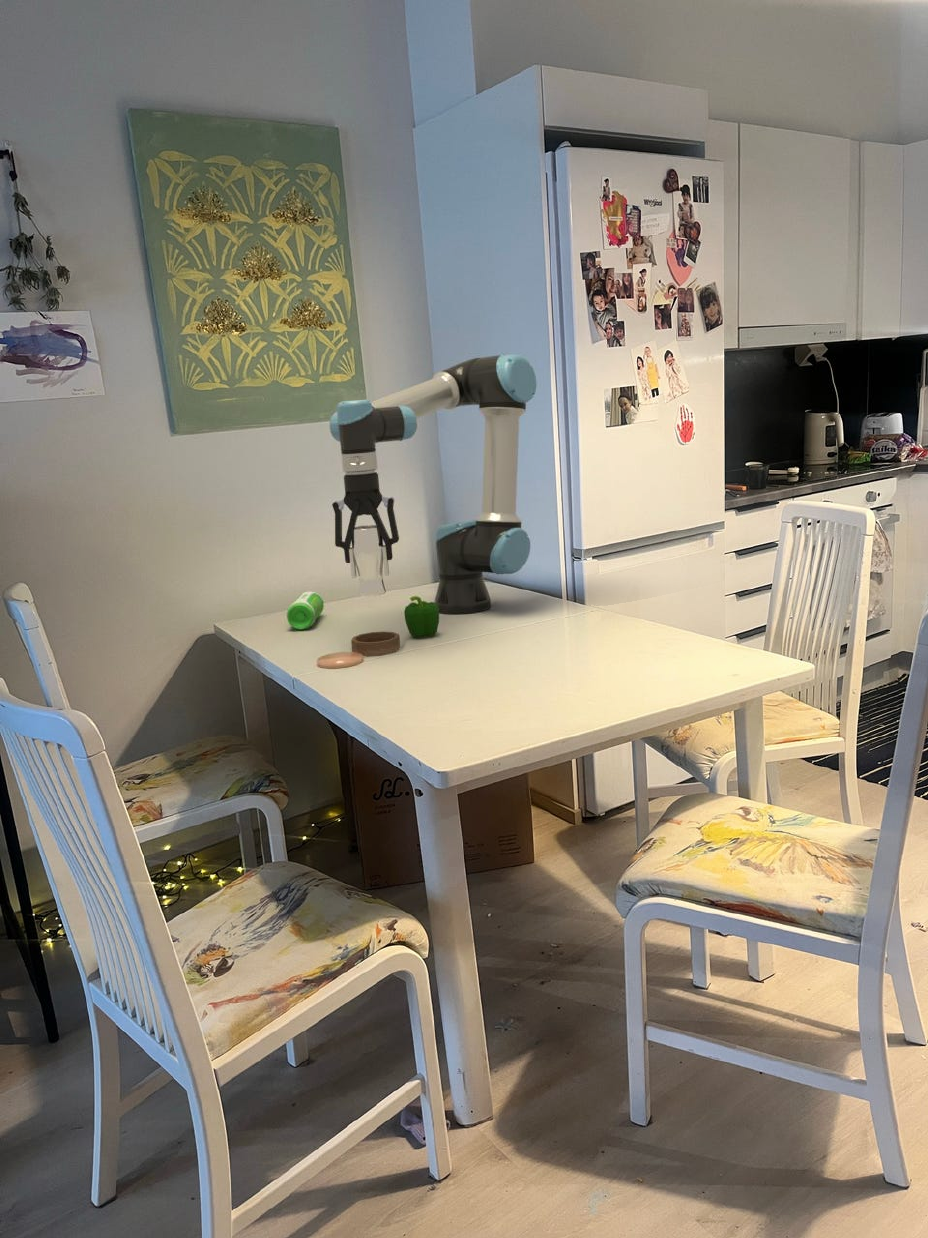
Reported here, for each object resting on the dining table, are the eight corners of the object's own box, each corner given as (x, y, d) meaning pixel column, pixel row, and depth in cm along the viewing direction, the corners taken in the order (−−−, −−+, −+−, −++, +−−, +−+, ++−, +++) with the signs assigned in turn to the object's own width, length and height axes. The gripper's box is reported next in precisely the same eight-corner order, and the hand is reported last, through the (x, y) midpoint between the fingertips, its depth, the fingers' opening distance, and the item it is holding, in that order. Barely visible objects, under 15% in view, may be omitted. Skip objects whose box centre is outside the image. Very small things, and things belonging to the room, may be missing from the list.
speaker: (315, 631, 242) (312, 601, 241) (287, 632, 242) (283, 603, 241) (326, 616, 259) (323, 588, 258) (299, 617, 260) (296, 590, 258)
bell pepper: (435, 630, 233) (432, 590, 231) (444, 637, 226) (441, 595, 223) (401, 634, 231) (398, 594, 229) (410, 642, 223) (407, 600, 221)
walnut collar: (401, 642, 223) (400, 630, 222) (397, 654, 212) (396, 641, 212) (356, 645, 223) (355, 633, 223) (350, 657, 213) (348, 644, 212)
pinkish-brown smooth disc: (365, 655, 214) (365, 650, 214) (360, 667, 204) (359, 662, 204) (321, 657, 214) (320, 653, 214) (313, 669, 205) (313, 665, 204)
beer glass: (394, 591, 215) (388, 525, 212) (370, 597, 210) (364, 530, 207) (373, 589, 220) (367, 524, 217) (350, 595, 215) (343, 528, 212)
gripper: (313, 477, 206) (324, 582, 211) (403, 470, 205) (413, 575, 210) (318, 474, 213) (329, 575, 218) (406, 467, 212) (415, 569, 218)
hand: (370, 575), depth 214 cm, fingers closed on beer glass, 7 cm apart
